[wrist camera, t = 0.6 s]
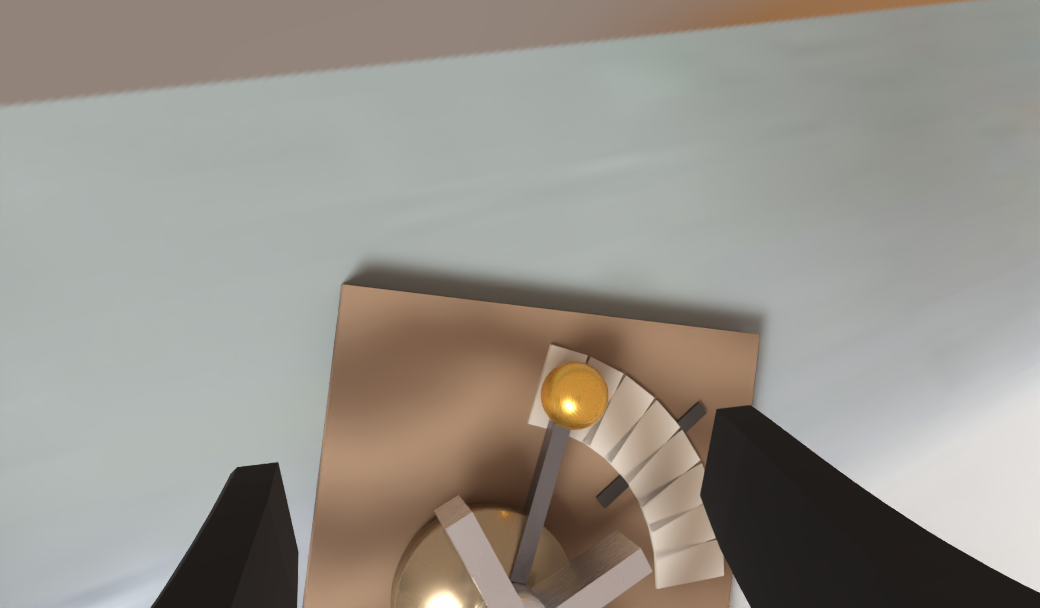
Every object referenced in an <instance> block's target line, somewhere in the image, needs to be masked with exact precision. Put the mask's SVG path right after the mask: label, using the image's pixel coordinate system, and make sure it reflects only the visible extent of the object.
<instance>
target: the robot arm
mask: <svg viewBox="0 0 1040 608" xmlns="http://www.w3.org/2000/svg"><path fill="white" fill-rule="evenodd" d="M700 497H701V500H702V502H703V505H704V508H705V511H706V513H707V516H708V519H709V522H710V524H711V527H712V529H713V532H714V534H715V537H716V539H717V542H718V544H719V547H720V549H721V551H722V553H723V555H724V557H725V559H726V561H727V563H728V565H729V567H730V569H731V571H732V573H733V575H734V576H735V578H736V580H737V582H738V584H739V586H740V588H741V590H742V592H743V593H744V595H745V597H746V599H747V601H748V603H749V605H750V606H751V608H1040V593H1039V592H1037V591H1035V590H1033V589H1031V588H1029V587H1027V586H1025V585H1023V584H1021V583H1019V582H1017V581H1015V580H1013V579H1011V578H1009V577H1007V576H1005V575H1004V574H1002V573H1000V572H998V571H996V570H994V569H992V568H990V567H989V566H987V565H985V564H983V563H982V562H980V561H978V560H976V559H975V558H973V557H971V556H969V555H968V554H966V553H964V552H962V551H961V550H959V549H957V548H955V547H954V546H952V545H950V544H948V543H947V542H945V541H943V540H942V539H940V538H938V537H937V536H935V535H933V534H932V533H930V532H929V531H927V530H925V529H924V528H922V527H921V526H919V525H918V524H916V523H914V522H913V521H911V520H910V519H908V518H907V517H905V516H904V515H902V514H901V513H899V512H898V511H896V510H895V509H893V508H891V507H890V506H888V505H887V504H885V503H884V502H882V501H881V500H880V499H878V498H877V497H875V496H874V495H872V494H871V493H869V492H868V491H866V490H865V489H864V488H862V487H861V486H859V485H858V484H857V483H855V482H854V481H852V480H851V479H850V478H848V477H847V476H845V475H844V474H843V473H841V472H840V471H838V470H837V469H836V468H834V467H833V466H832V465H830V464H829V463H828V462H826V461H825V460H824V459H822V458H821V457H819V456H818V455H817V454H815V453H814V452H813V451H811V450H810V449H809V448H807V447H806V446H805V445H803V444H802V443H801V442H799V441H798V440H797V439H795V438H794V437H793V436H792V435H790V434H789V433H788V432H786V431H785V430H784V429H782V428H781V427H780V426H778V425H777V424H776V423H774V422H773V421H772V420H770V419H769V418H768V417H766V416H765V415H763V414H762V413H761V412H759V411H758V410H756V409H755V408H754V407H752V406H751V405H745V406H737V407H729V408H720V409H716V414H715V419H714V424H713V429H712V435H711V440H710V445H709V450H708V455H707V461H706V466H705V471H704V476H703V481H702V486H701V492H700ZM297 591H298V548H297V544H296V539H295V535H294V530H293V526H292V521H291V517H290V513H289V508H288V504H287V499H286V495H285V490H284V486H283V481H282V477H281V472H280V468H279V464H278V462H276V463H268V464H260V465H251V466H243V467H237V468H236V469H235V470H234V471H233V472H232V473H231V474H230V476H229V478H228V480H227V482H226V484H225V486H224V488H223V490H222V492H221V494H220V495H219V497H218V499H217V501H216V503H215V505H214V506H213V508H212V510H211V512H210V514H209V515H208V517H207V519H206V521H205V522H204V524H203V526H202V527H201V529H200V531H199V532H198V534H197V536H196V538H195V539H194V541H193V543H192V544H191V546H190V548H189V549H188V551H187V552H186V554H185V556H184V557H183V559H182V560H181V562H180V563H179V565H178V567H177V568H176V570H175V571H174V573H173V575H172V576H171V578H170V579H169V581H168V583H167V584H166V586H165V587H164V589H163V590H162V592H161V593H160V595H159V596H158V598H157V599H156V601H155V602H154V603H153V605H152V606H151V608H297Z"/></svg>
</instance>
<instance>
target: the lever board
mask: <svg viewBox="0 0 1040 608" xmlns="http://www.w3.org/2000/svg"><path fill="white" fill-rule="evenodd" d="M759 338H760V335H759V334H750V333H742V332H734V331H726V330H717V329H709V328H701V327H692V326H684V325H676V324H667V323H659V322H651V321H643V320H634V319H626V318H618V317H609V316H601V315H593V314H584V313H576V312H568V311H560V310H551V309H543V308H535V307H526V306H518V305H510V304H502V303H493V302H485V301H477V300H468V299H460V298H452V297H443V296H435V295H427V294H419V293H410V292H402V291H394V290H385V289H377V288H369V287H360V286H352V285H344V284H341V292H340V300H339V309H338V317H337V325H336V333H335V342H334V350H333V358H332V367H331V375H330V383H329V391H328V400H327V408H326V416H325V425H324V433H323V441H322V449H321V458H320V466H319V474H318V483H317V491H316V499H315V508H314V516H313V524H312V532H311V541H310V549H309V557H308V566H307V574H306V582H305V590H304V599H303V607H302V608H391V599H390V597H391V587H392V582H393V578H394V574H395V571H396V568H397V565H398V563H399V561H400V559H401V557H402V555H403V553H404V551H405V549H406V548H407V546H408V545H409V544H410V542H411V541H412V539H413V538H414V537H415V536H416V535H417V534H418V532H419V531H420V530H422V529H423V528H424V527H425V526H426V525H427V524H428V523H429V522H431V521H432V520H434V519H435V518H436V517H437V516H436V514H435V512H434V510H435V509H437V508H439V507H440V506H442V505H443V504H445V503H446V502H448V501H450V500H451V499H453V498H454V497H456V496H458V495H459V496H460V497H461V499H462V500H463V501H464V502H465V504H469V503H475V502H499V503H505V504H508V505H512V506H515V507H517V508H519V509H521V510H523V509H524V506H525V502H526V499H527V495H528V492H529V488H530V485H531V481H532V478H533V474H534V471H535V467H536V464H537V460H538V457H539V453H540V450H541V446H542V443H543V439H544V436H545V432H546V429H547V425H548V422H549V417H548V416H547V415H546V413H545V411H544V409H543V407H542V403H541V388H542V384H543V382H544V380H545V378H546V376H547V375H548V374H549V373H550V371H552V370H553V369H554V368H555V367H557V366H558V365H560V364H563V363H566V362H572V361H576V362H583V363H586V364H589V365H591V366H592V367H594V368H595V369H597V370H598V371H599V372H600V373H601V375H602V376H603V377H604V379H605V381H606V383H607V386H608V390H609V402H608V406H607V409H606V411H605V413H604V415H603V416H602V417H601V419H600V420H599V421H598V422H596V423H595V424H594V425H592V426H590V427H588V428H585V429H581V430H571V431H570V434H569V438H568V441H567V445H566V448H565V452H564V455H563V459H562V462H561V466H560V469H559V473H558V476H557V480H556V483H555V487H554V490H553V494H552V497H551V501H550V504H549V508H548V511H547V515H546V518H545V522H544V527H545V528H546V529H547V530H548V531H549V532H550V533H551V534H552V535H553V536H554V537H555V538H556V540H557V541H558V542H559V543H560V545H561V547H562V548H563V550H564V551H565V554H566V556H567V558H568V560H569V562H570V561H572V560H573V559H575V558H576V557H578V556H579V555H581V554H582V553H583V552H585V551H586V550H588V549H589V548H591V547H592V546H594V545H595V544H597V543H598V542H599V541H601V540H602V539H604V538H605V537H607V536H608V535H610V534H611V533H613V532H614V531H615V530H617V531H618V532H620V533H621V534H622V535H624V536H625V537H626V538H628V539H629V540H631V541H632V542H633V543H635V544H636V545H637V546H639V547H640V548H641V550H642V552H643V553H644V555H645V557H646V559H647V561H648V563H649V565H650V567H651V569H652V571H653V572H651V573H650V574H648V575H647V576H646V577H644V578H643V579H642V580H640V581H639V582H637V583H636V584H635V585H633V586H632V587H630V588H629V589H628V590H626V591H625V592H623V593H622V594H621V595H619V596H618V597H616V598H615V599H614V600H612V601H611V602H609V603H608V604H607V605H605V606H604V607H602V608H728V607H729V598H730V590H731V581H732V571H731V569H730V567H729V565H728V563H727V561H726V559H725V557H724V555H723V553H722V551H721V549H720V547H719V544H718V542H717V539H716V537H715V534H714V532H713V529H712V527H711V524H710V522H709V519H708V516H707V513H706V511H705V508H704V505H703V502H702V500H701V497H700V492H701V486H702V481H703V476H704V471H705V466H706V461H707V455H708V450H709V445H710V440H711V435H712V429H713V424H714V419H715V414H716V409H720V408H729V407H737V406H745V405H751V406H752V399H753V390H754V382H755V373H756V364H757V356H758V347H759Z"/></svg>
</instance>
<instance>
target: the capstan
mask: <svg viewBox="0 0 1040 608" xmlns="http://www.w3.org/2000/svg"><path fill="white" fill-rule="evenodd" d="M608 402H609V390H608V386H607V383H606V381H605V379H604V377H603V376H602V375H601V373H600V372H599V371H598V370H597V369H595V368H594V367H592V366H591V365H589V364H586V363H583V362H576V361H572V362H566V363H563V364H560V365H558V366H557V367H555V368H554V369H553V370H552V371H550V373H549V374H548V375H547V376H546V378H545V380H544V382H543V384H542V388H541V403H542V407H543V409H544V411H545V413H546V415H547V416H548V417H549V422H548V425H547V429H546V432H545V436H544V439H543V443H542V446H541V450H540V453H539V457H538V460H537V464H536V467H535V471H534V474H533V478H532V481H531V485H530V488H529V492H528V495H527V499H526V502H525V506H524V509H523V510H521V509H519V508H517V507H515V506H512V505H508V504H505V503H499V502H475V503H469V504H465V502H464V501H463V500H462V499H461V497H460V496H459V495H458V496H456V497H454V498H453V499H451V500H450V501H448V502H446V503H445V504H443V505H442V506H440V507H439V508H437V509H435V510H434V512H435V514H436V516H437V517H436V518H435V519H434V520H432V521H431V522H429V523H428V524H427V525H426V526H425V527H424V528H423V529H422V530H420V531H419V532H418V534H417V535H416V536H415V537H414V538H413V539H412V541H411V542H410V544H409V545H408V546H407V548H406V549H405V551H404V553H403V555H402V557H401V559H400V561H399V563H398V565H397V568H396V571H395V574H394V578H393V582H392V587H391V597H390V599H391V608H602V607H604V606H605V605H607V604H608V603H609V602H611V601H612V600H614V599H615V598H616V597H618V596H619V595H621V594H622V593H623V592H625V591H626V590H628V589H629V588H630V587H632V586H633V585H635V584H636V583H637V582H639V581H640V580H642V579H643V578H644V577H646V576H647V575H648V574H650V573H651V572H653V571H652V569H651V567H650V565H649V563H648V561H647V559H646V557H645V555H644V553H643V552H642V550H641V548H640V547H639V546H637V545H636V544H635V543H633V542H632V541H631V540H629V539H628V538H626V537H625V536H624V535H622V534H621V533H620V532H618V531H617V530H615V531H614V532H613V533H611V534H610V535H608V536H607V537H605V538H604V539H602V540H601V541H599V542H598V543H597V544H595V545H594V546H592V547H591V548H589V549H588V550H586V551H585V552H583V553H582V554H581V555H579V556H578V557H576V558H575V559H573V560H572V561H570V562H569V560H568V558H567V556H566V554H565V551H564V550H563V548H562V547H561V545H560V543H559V542H558V541H557V540H556V538H555V537H554V536H553V535H552V534H551V533H550V532H549V531H548V530H547V529H546V528H545V527H544V522H545V518H546V515H547V511H548V508H549V504H550V501H551V497H552V494H553V490H554V487H555V483H556V480H557V476H558V473H559V469H560V466H561V462H562V459H563V455H564V452H565V448H566V445H567V441H568V438H569V434H570V431H571V430H581V429H585V428H588V427H590V426H592V425H594V424H595V423H596V422H598V421H599V420H600V419H601V417H602V416H603V415H604V413H605V411H606V409H607V406H608Z"/></svg>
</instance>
